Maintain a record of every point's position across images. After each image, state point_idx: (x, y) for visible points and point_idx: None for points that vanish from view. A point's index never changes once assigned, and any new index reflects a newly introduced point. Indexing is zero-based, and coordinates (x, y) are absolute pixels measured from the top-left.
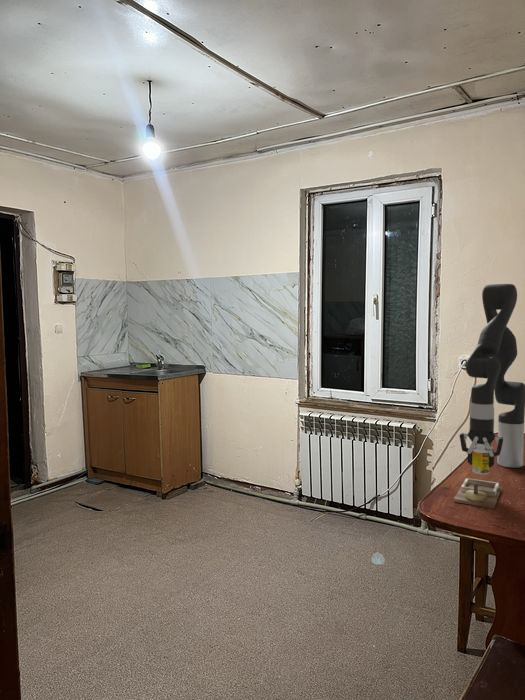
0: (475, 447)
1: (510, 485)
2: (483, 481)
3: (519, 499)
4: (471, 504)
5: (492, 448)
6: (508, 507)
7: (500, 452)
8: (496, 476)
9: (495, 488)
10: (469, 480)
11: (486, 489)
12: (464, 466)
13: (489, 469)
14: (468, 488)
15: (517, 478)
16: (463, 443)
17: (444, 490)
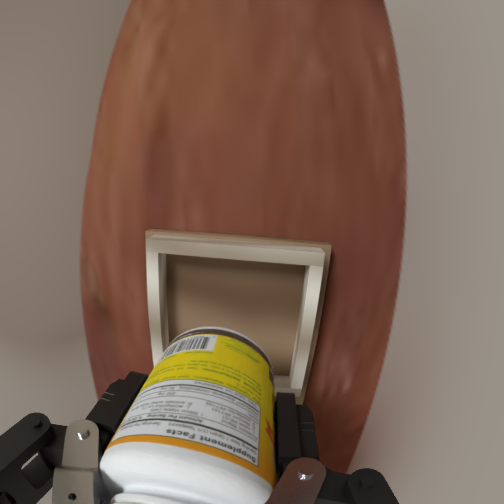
0: (117, 491)
1: (369, 144)
2: (239, 259)
3: (390, 332)
4: None
5: None
6: (337, 418)
7: (379, 488)
8: (293, 27)
9: (304, 351)
10: (166, 252)
11: (261, 311)
12: None
13: (274, 386)
14: None
15: (384, 33)
16: (33, 495)
17: (106, 338)
